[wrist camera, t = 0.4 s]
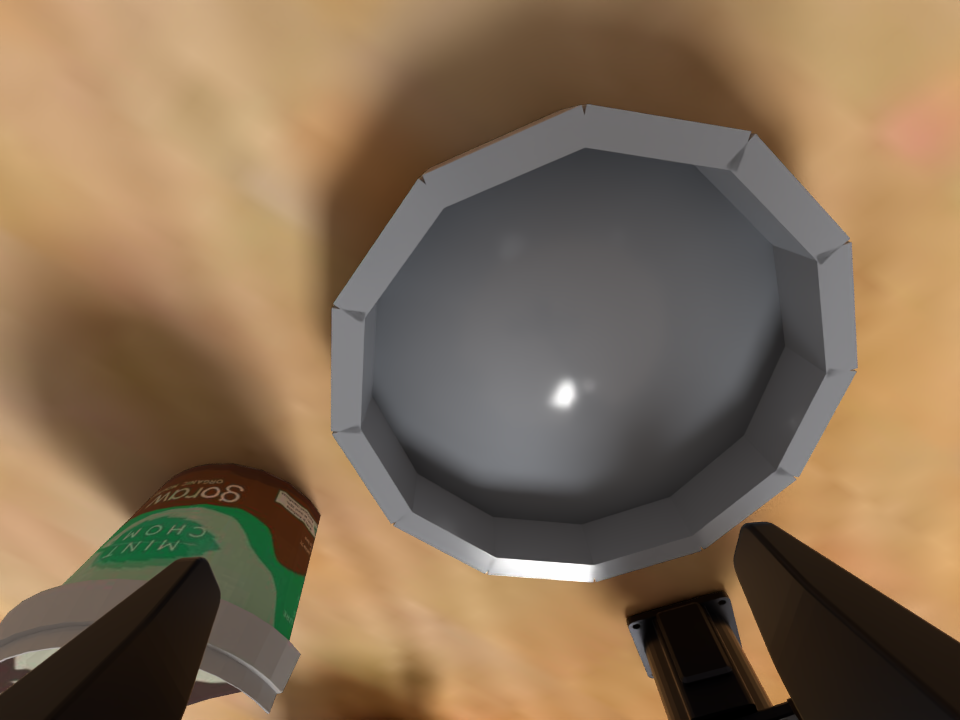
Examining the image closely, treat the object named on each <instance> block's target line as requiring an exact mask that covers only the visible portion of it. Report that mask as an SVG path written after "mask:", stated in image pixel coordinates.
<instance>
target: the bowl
mask: <svg viewBox="0 0 960 720" xmlns="http://www.w3.org/2000/svg"><path fill="white" fill-rule="evenodd" d="M849 239H850V238H849V237H848V236H847V235H846V233H845V232H844V231H843V230H842V229H841V228H840V227H839V226H838V225H837V223H836V222H835V221H834V220H833V219H832V218H831V217H830V216H829V215H828V213H827V212H826V211H825V210H824V209H823V208H822V207H821V206H820V205H819V203H818V202H817V201H816V200H815V199H814V198H813V197H812V196H811V195H810V193H809V192H808V191H807V190H806V189H805V188H804V187H803V186H802V185H801V183H800V182H799V181H798V180H797V179H796V178H795V177H794V176H793V175H792V173H791V172H790V171H789V170H788V169H787V168H786V167H785V166H784V165H783V163H782V162H781V161H780V160H779V159H778V158H777V157H776V156H775V155H774V153H773V152H772V151H771V150H770V149H769V148H768V147H767V146H766V145H765V143H764V142H763V141H762V140H761V139H760V138H759V137H758V136H757V135H756V134H751V131H747V130H741V129H735V128H729V127H723V126H717V125H711V124H705V123H699V122H693V121H687V120H681V119H675V118H669V117H663V116H657V115H651V114H645V113H639V112H633V111H626V110H620V109H614V108H608V107H602V106H596V105H590V104H585V105H578V106H574V107H570V108H566V109H562V110H559V111H557V112H555V113H552V114H550V115H548V116H546V117H543V118H541V119H539V120H537V121H534V122H532V123H530V124H528V125H525V126H523V127H521V128H519V129H516V130H514V131H512V132H510V133H507V134H505V135H503V136H500V137H498V138H496V139H494V140H491V141H489V142H487V143H485V144H482V145H480V146H478V147H476V148H473V149H471V150H469V151H467V152H464V153H462V154H460V155H458V156H455V157H453V158H451V159H449V160H446V161H444V162H442V163H440V164H437V165H435V166H433V167H431V168H429V169H428V170H427V171H425V172H424V173H423V174H422V175H421V176H420V177H419V178H418V180H417V181H416V183H415V184H414V186H413V187H412V189H411V190H410V191H409V193H408V194H407V196H406V197H405V199H404V200H403V202H402V203H401V205H400V206H399V208H398V209H397V211H396V212H395V214H394V215H393V216H392V218H391V219H390V221H389V222H388V224H387V225H386V227H385V228H384V230H383V231H382V233H381V234H380V236H379V237H378V239H377V240H376V241H375V243H374V244H373V246H372V247H371V249H370V250H369V252H368V253H367V255H366V256H365V258H364V259H363V261H362V262H361V264H360V265H359V266H358V268H357V269H356V271H355V272H354V274H353V275H352V277H351V278H350V280H349V281H348V283H347V284H346V286H345V287H344V289H343V290H342V291H341V293H340V294H339V296H338V297H337V299H336V300H335V302H334V303H333V304H334V306H333V307H332V345H331V431H333V433H332V435H333V437H334V438H335V440H336V441H337V443H338V444H339V446H340V447H341V449H342V450H343V452H344V453H345V455H346V456H347V458H348V459H349V461H350V462H351V464H352V465H353V467H354V468H355V470H356V471H357V473H358V474H359V476H360V477H361V479H362V481H363V482H364V484H365V485H366V487H367V488H368V490H369V491H370V493H371V494H372V496H373V497H374V499H375V500H376V502H377V503H378V505H379V506H380V508H381V509H382V511H383V512H384V514H385V515H386V517H387V518H388V520H389V521H390V523H394V525H393V526H395V527H397V528H399V529H400V530H402V531H404V532H406V533H408V534H410V535H412V536H414V537H416V538H418V539H419V540H421V541H423V542H425V543H427V544H429V545H431V546H433V547H435V548H437V549H438V550H440V551H442V552H444V553H446V554H448V555H450V556H452V557H454V558H456V559H458V560H459V561H461V562H463V563H465V564H467V565H469V566H471V567H473V568H475V569H477V570H478V571H480V572H482V573H484V574H485V573H486V572H487V571H488V575H500V576H513V577H527V578H540V579H554V580H568V581H581V582H593V580H594V578H595V581H596V582H598V581H601V580H604V579H608V578H611V577H615V576H618V575H621V574H625V573H628V572H632V571H635V570H638V569H642V568H645V567H649V566H652V565H655V564H659V563H662V562H665V561H669V560H672V559H676V558H679V557H682V556H686V555H689V554H693V553H696V552H699V551H701V547H702V548H703V549H706V548H707V547H708V546H710V545H711V544H712V543H714V542H715V541H716V540H718V539H719V538H720V537H722V536H723V535H724V534H725V533H727V532H728V531H729V530H731V529H732V528H733V527H735V526H736V525H737V524H739V523H740V522H741V521H743V520H744V519H745V518H747V517H748V516H749V515H751V514H752V513H753V512H754V511H756V510H757V509H758V508H760V507H761V506H762V505H764V504H765V503H766V502H768V501H769V500H770V499H772V498H773V497H774V496H776V495H777V494H778V493H780V492H781V491H782V490H783V489H785V488H786V487H787V486H789V485H790V484H791V483H793V482H794V481H795V480H796V479H795V477H799V476H800V474H801V472H802V470H803V469H804V467H805V465H806V463H807V461H808V459H809V458H810V456H811V454H812V452H813V450H814V448H815V447H816V445H817V443H818V441H819V439H820V438H821V436H822V434H823V432H824V430H825V428H826V427H827V425H828V423H829V421H830V419H831V417H832V416H833V414H834V412H835V410H836V408H837V406H838V405H839V403H840V401H841V399H842V397H843V396H844V394H845V392H846V390H847V388H848V386H849V385H850V383H851V381H852V379H853V377H854V375H855V374H856V372H857V371H855V370H853V369H856V368H858V366H857V345H856V325H855V304H854V283H853V263H852V242H849V241H848V240H849ZM794 476H795V477H794Z"/></svg>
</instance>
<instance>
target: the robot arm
mask: <svg viewBox="0 0 960 720" xmlns="http://www.w3.org/2000/svg"><path fill="white" fill-rule="evenodd" d="M734 568H735V572H736V574H737V577H738V579H739V582H740V584H741V586H742V589H743V591H744V594H745V596H746V598H747V601H748V603H749V606H750V608H751V611H752V613H753V615H754V618H755V620H756V623H757V625H758V627H759V630H760V632H761V635H762V637H763V640H764V642H765V644H766V647H767V649H768V652H769V654H770V656H771V658H772V661H773V663H774V665H775V667H776V669H777V671H778V673H779V675H780V677H781V679H782V681H783V683H784V685H785V687H786V689H787V691H788V693H789V695H790V697H791V698H789V699H787V702H784V703H781V704H778V705H775V706H773V705H772V703H771V701H770V699H769V698H768V696H767V694H766V692H765V690H764V688H763V687H762V685H761V683H760V681H759V679H758V677H757V675H756V674H755V672H754V670H753V668H752V666H751V664H750V662H749V661H748V659H747V657H746V655H745V653H744V651H743V649H742V646H741V642H740V638H739V634H738V630H737V625H736V621H735V617H734V613H733V609H732V605H731V601H730V599H729V597H728V595H727V594H726V593H725V592H716V593H712V594H709V595H705V596H702V597H698V598H695V599H691V600H687V601H684V602H680V603H677V604H673V605H670V606H666V607H663V608H659V609H656V610H652V611H648V612H645V613H641V614H638V615H634V616H631V617H629V618H628V619H627V625H628V628H629V630H630V633H631V635H632V638H633V640H634V643H635V645H636V648H637V650H638V652H639V655H640V657H641V660H642V662H643V665H644V667H645V670H646V672H647V674H648V676H649V677H650V678H654V680H655V683H656V686H657V688H658V691H659V694H660V697H661V700H662V703H663V706H664V708H665V711H666V714H667V717H668V720H960V642H958V641H957V640H955V639H954V638H952V637H950V636H949V635H947V634H946V633H944V632H943V631H941V630H939V629H938V628H936V627H935V626H933V625H932V624H930V623H928V622H927V621H925V620H924V619H922V618H921V617H919V616H917V615H916V614H914V613H913V612H911V611H910V610H908V609H906V608H905V607H903V606H902V605H900V604H898V603H897V602H895V601H894V600H892V599H891V598H889V597H887V596H886V595H884V594H883V593H881V592H880V591H878V590H876V589H875V588H873V587H872V586H870V585H869V584H867V583H865V582H864V581H862V580H861V579H859V578H858V577H856V576H854V575H853V574H851V573H850V572H848V571H847V570H845V569H843V568H842V567H840V566H839V565H837V564H836V563H834V562H832V561H831V560H829V559H828V558H826V557H825V556H823V555H821V554H820V553H818V552H817V551H815V550H814V549H812V548H810V547H809V546H807V545H806V544H804V543H803V542H801V541H799V540H798V539H796V538H795V537H793V536H792V535H790V534H788V533H787V532H785V531H784V530H782V529H781V528H779V527H777V526H776V525H774V524H772V523H769V522H754V523H746V524H744V525H743V526H742V527H741V530H740V534H739V538H738V542H737V546H736V550H735V554H734ZM220 600H221V592H220V587H219V585H218V583H217V580H216V578H215V576H214V573H213V571H212V569H211V566H210V564H209V562H208V560H207V559H205V558H204V557H187V558H180V559H177V560H175V561H174V562H172V563H171V564H170V565H168V566H167V567H166V568H165V569H163V570H162V571H161V572H159V573H158V574H157V575H155V576H154V577H153V578H151V579H150V580H149V581H148V582H146V583H145V584H144V585H142V586H141V587H140V588H138V589H137V590H136V591H134V592H133V593H132V594H131V595H129V596H128V597H127V598H125V599H124V600H123V601H121V602H120V603H119V604H118V605H116V606H115V607H114V608H112V609H111V610H110V611H108V612H107V613H106V614H104V615H103V616H102V617H101V618H99V619H98V620H97V621H95V622H94V623H93V624H91V625H90V626H89V627H87V628H86V629H85V630H84V631H82V632H81V633H80V634H78V635H77V636H76V637H74V638H73V639H72V640H70V641H69V642H68V643H67V644H65V645H64V646H63V647H61V648H60V649H59V650H57V651H56V652H55V653H53V654H52V655H51V656H50V657H48V658H47V659H46V660H44V661H43V662H42V663H40V664H39V665H38V666H36V667H35V668H34V669H33V670H31V671H30V672H29V673H27V674H26V675H25V676H23V677H22V678H21V679H20V680H18V681H17V682H16V683H14V684H13V685H12V686H10V687H9V688H8V689H6V690H5V691H4V692H3V693H1V694H0V720H181V719H182V716H183V714H184V711H185V709H186V706H187V704H188V701H189V698H190V695H191V692H192V690H193V687H194V684H195V680H196V677H197V674H198V671H199V668H200V665H201V662H202V659H203V655H204V652H205V649H206V646H207V643H208V640H209V637H210V634H211V630H212V627H213V624H214V621H215V618H216V615H217V612H218V609H219V605H220Z"/></svg>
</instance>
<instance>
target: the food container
mask: <svg viewBox="0 0 960 720" xmlns="http://www.w3.org/2000/svg"><path fill="white" fill-rule="evenodd" d="M320 516H321V515H320V514H319V513H318V511H317V510H316V508H315V507H314V505H313V504H312V503H311V501H310V500H309V499H308V498H306V497H305V496H304V495H303V494H302V493H300V492H299V491H298V490H297V489H296V488H295V487H293V486H292V485H291V484H290V483H288V482H286V481H284V480H282V479H280V478H278V477H276V476H274V475H271V474H269V473H267V472H265V471H263V470H259V469H255V468H250V467H246V466H241V465H237V464H207V465H202V466H196V467H194V468H191V469H188V470H185V471H183V472H181V473H179V474H177V475H176V476H174V477H173V478H172V479H170V480H169V481H168V482H167V483H166V484H165V485H163V486H162V487H161V488H160V489H159V490H158V491H157V492H156V493H155V494H154V495H153V496H152V497H151V498H150V499H149V500H148V501H147V502H146V503H145V504H144V505H143V506H142V507H141V508H140V509H139V510H138V511H137V512H136V513H135V514H134V515H133V516H132V517H131V518H130V519H129V520H128V521H127V522H126V523H125V524H124V525H123V526H122V527H121V528H120V529H119V530H118V531H117V532H116V533H115V534H114V535H113V536H112V537H111V538H110V539H109V540H108V541H107V542H106V543H105V544H103V545H102V546H101V547H100V548H99V549H98V550H97V551H96V552H95V553H94V554H93V555H92V556H91V557H90V558H89V559H88V560H87V561H86V562H85V563H84V564H83V565H82V566H81V567H80V568H79V569H78V570H77V571H76V572H75V573H74V574H73V575H72V576H71V577H70V578H69V579H68V580H67V581H66V582H65V583H64V584H63V585H61V586H58V587H54V588H51V589H48V590H45V591H42V592H40V593H38V594H36V595H34V596H32V597H30V598H28V599H26V600H24V601H22V602H21V603H20V604H19V605H17V606H16V607H15V608H14V609H12V610H11V611H10V612H9V613H8V614H7V615H6V616H5V618H4V619H3V620H2V622H1V623H0V694H1V693H3V692H4V691H5V690H6V689H8V688H9V687H10V686H12V685H13V684H14V683H16V682H17V681H18V680H20V679H21V678H22V677H23V676H25V675H26V674H27V673H29V672H30V671H31V670H33V669H34V668H35V667H36V666H38V665H39V664H40V663H42V662H43V661H44V660H46V659H47V658H48V657H50V656H51V655H52V654H53V653H55V652H56V651H57V650H59V649H60V648H61V647H63V646H64V645H65V644H67V643H68V642H69V641H70V640H72V639H73V638H74V637H76V636H77V635H78V634H80V633H81V632H82V631H84V630H85V629H86V628H87V627H89V626H90V625H91V624H93V623H94V622H95V621H97V620H98V619H99V618H101V617H102V616H103V615H104V614H106V613H107V612H108V611H110V610H111V609H112V608H114V607H115V606H116V605H118V604H119V603H120V602H121V601H123V600H124V599H125V598H127V597H128V596H129V595H131V594H132V593H133V592H134V591H136V590H137V589H138V588H140V587H141V586H142V585H144V584H145V583H146V582H148V581H149V580H150V579H151V578H153V577H154V576H155V575H157V574H158V573H159V572H161V571H162V570H163V569H165V568H166V567H167V566H168V565H170V564H171V563H172V562H174V561H175V560H177V559H180V558H187V557H204V558H205V559H207V560H208V562H209V564H210V566H211V569H212V571H213V573H214V576H215V578H216V580H217V583H218V585H219V587H220V592H221V600H220V605H219V609H218V612H217V615H216V618H215V621H214V624H213V627H212V630H211V634H210V637H209V640H208V643H207V646H206V649H205V652H204V655H203V659H202V662H201V665H200V668H199V671H198V674H197V677H196V680H195V684H194V687H193V690H192V692H191V695H190V698H189V701H188V704H187V706H188V705H191V704H194V703H197V702H200V701H204V700H207V699H210V698H215V697H220V696H224V695H229V694H233V693H238V692H243V693H244V694H246V695H247V696H249V697H250V698H251V699H253V700H254V701H255V702H256V703H257V704H258V705H259V706H260V707H261V708H262V709H263V710H264V711H265V712H266V713H267V714H268V713H270V710H271V708H272V705H273V702H274V700H275V697H276V694H277V693H282V692H283V690H284V688H285V686H286V684H287V682H288V680H289V678H290V676H291V673H292V671H293V669H294V667H295V665H296V663H297V661H298V659H299V657H300V655H301V654H300V653H299V652H298V650H297V649H296V648H295V647H294V646H293V645H292V643H291V642H290V641H289V640H290V636H291V632H292V628H293V624H294V620H295V616H296V612H297V608H298V604H299V600H300V596H301V592H302V588H303V584H304V580H305V576H306V572H307V568H308V564H309V560H310V556H311V552H312V548H313V544H314V540H315V536H316V532H317V528H318V524H319V520H320Z"/></svg>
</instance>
